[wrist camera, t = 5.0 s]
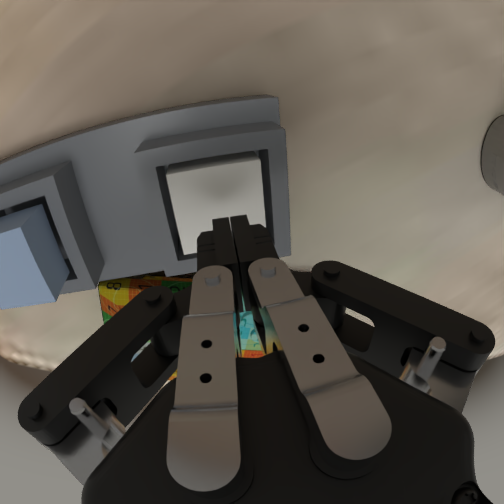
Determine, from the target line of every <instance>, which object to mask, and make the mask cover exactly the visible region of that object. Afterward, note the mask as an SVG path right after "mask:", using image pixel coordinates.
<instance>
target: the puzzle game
mask: <svg viewBox="0 0 504 504" xmlns="http://www.w3.org/2000/svg"><path fill="white" fill-rule="evenodd" d="M192 281H193V278H178V277H161V276H144V277H143V278H142V279H133V278H117V279H111V280H105V281H99V284H98V290H99V297H100V304H101V310H102V316H103V321H104V324H105V323H106V322H107V321H108V320H109V319H110V318H111V317H113V316H114V315H115V314H116V313H117V312H118V311H119V310H120V309H122V308H123V307H124V306H125V305H126V304H127V303H128V302H130V301H131V300H132V299H133V298H134V297H135V296H136V295H138V294H139V293H140V292H141V291H143V290H144V289H146V288H149V287H152V286H165V287H168V288H169V289H171V291H172V292H173V293H175V292H178V291H180V290H183V289H185V288H187V287H188V286H190V285H191V284H192ZM241 292H242V291H241ZM242 301H243V296H242ZM243 309H244V312H242V313H240V320H241V321H240V334H241V347H242V357H245V358H259V357H262V356H264V355H263V353H262V350H261V347H260V344H259V341H258V338H257V335H256V332H255V329H254V324H253V315H252V311H247V312H246V311H245V306H244V301H243ZM150 343H151V342H150V340H149V341H148V342H147V343H146V344H145V345H144V346H143V347H142V348H141V349H140V350H139V351H138V352H137V353H136V354H135V355H134V356H133V358H132V361H133V360H134V359H135V358H136V357H137V356H138V355H139V354H140V353H141V352H142V351H143V350H144V349H145V348H146V347H147V346H148V345H149V344H150ZM132 361H131V362H132ZM176 377H177V370H176V371H175V372H174V373H173V375H172V376H171V377H170V378H169V379H168V380H173V379H174V378H176Z"/></svg>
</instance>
